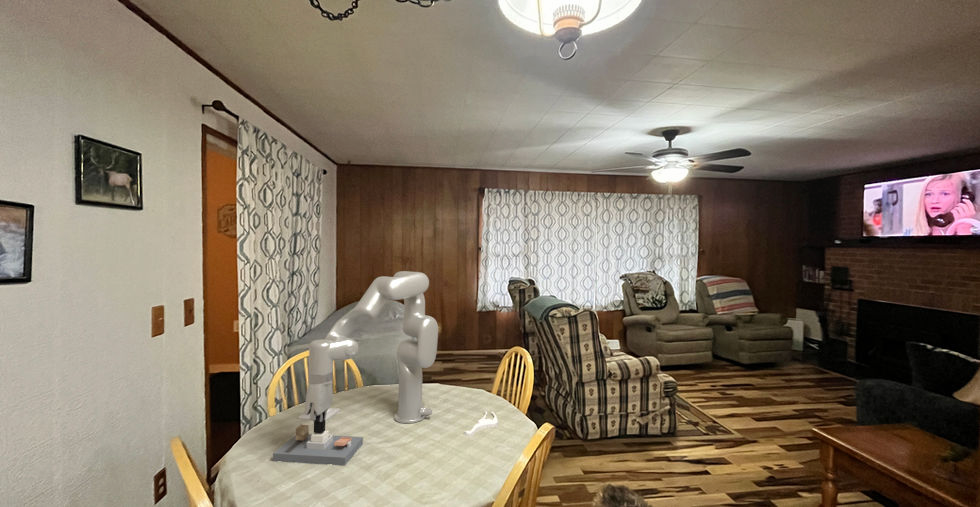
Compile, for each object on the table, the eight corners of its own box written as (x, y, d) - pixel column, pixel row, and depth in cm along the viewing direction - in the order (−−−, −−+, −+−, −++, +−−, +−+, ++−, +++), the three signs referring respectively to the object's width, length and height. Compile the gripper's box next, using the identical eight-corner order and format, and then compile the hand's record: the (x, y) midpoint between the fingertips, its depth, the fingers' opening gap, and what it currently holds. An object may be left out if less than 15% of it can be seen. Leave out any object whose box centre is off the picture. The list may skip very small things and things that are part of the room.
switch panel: (362, 444, 138) (363, 431, 138) (344, 465, 124) (345, 451, 124) (297, 440, 140) (297, 427, 140) (272, 461, 126) (272, 447, 126)
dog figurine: (467, 410, 166) (462, 432, 146) (498, 411, 165) (497, 433, 145) (467, 415, 166) (462, 437, 146) (498, 416, 165) (497, 438, 145)
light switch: (312, 401, 169) (339, 402, 167) (313, 411, 169) (340, 412, 167) (295, 411, 159) (324, 412, 156) (296, 421, 159) (324, 423, 156)
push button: (328, 437, 134) (328, 430, 134) (322, 443, 130) (322, 436, 130) (317, 437, 135) (317, 430, 135) (311, 442, 131) (311, 435, 131)
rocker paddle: (351, 442, 134) (351, 436, 135) (343, 447, 129) (344, 441, 129) (342, 442, 135) (342, 436, 135) (334, 446, 129) (334, 440, 129)
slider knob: (308, 436, 137) (308, 424, 137) (303, 440, 134) (304, 428, 134) (300, 435, 138) (300, 424, 138) (295, 440, 135) (295, 428, 135)
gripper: (321, 370, 140) (320, 422, 140) (297, 384, 125) (296, 441, 125) (341, 371, 139) (340, 423, 139) (320, 385, 125) (318, 443, 124)
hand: (319, 431), depth 132 cm, fingers closed
